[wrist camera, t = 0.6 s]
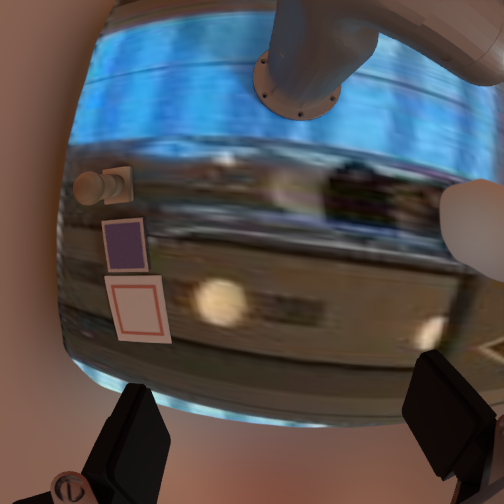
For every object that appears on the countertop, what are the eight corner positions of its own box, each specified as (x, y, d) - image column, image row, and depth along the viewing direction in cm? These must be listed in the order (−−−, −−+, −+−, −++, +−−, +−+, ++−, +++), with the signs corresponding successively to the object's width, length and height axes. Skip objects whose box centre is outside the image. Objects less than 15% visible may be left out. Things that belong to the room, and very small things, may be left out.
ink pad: (105, 219, 39) (100, 221, 37) (145, 216, 39) (141, 218, 37) (111, 269, 41) (107, 272, 39) (151, 269, 41) (147, 272, 40)
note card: (105, 275, 41) (104, 276, 41) (161, 275, 41) (160, 276, 41) (119, 339, 44) (118, 340, 44) (171, 342, 44) (171, 343, 44)
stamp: (109, 170, 37) (65, 170, 26) (133, 166, 37) (93, 164, 26) (111, 202, 38) (68, 213, 27) (135, 200, 38) (96, 209, 27)
